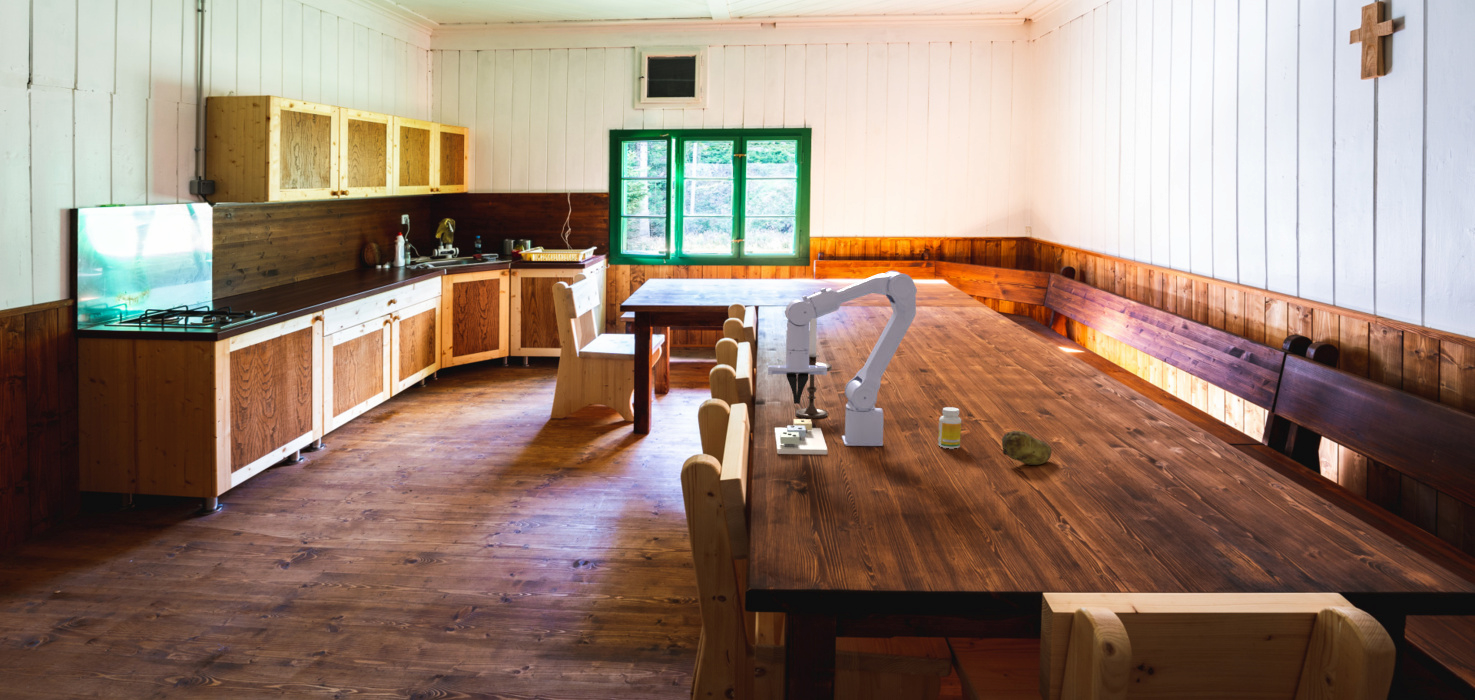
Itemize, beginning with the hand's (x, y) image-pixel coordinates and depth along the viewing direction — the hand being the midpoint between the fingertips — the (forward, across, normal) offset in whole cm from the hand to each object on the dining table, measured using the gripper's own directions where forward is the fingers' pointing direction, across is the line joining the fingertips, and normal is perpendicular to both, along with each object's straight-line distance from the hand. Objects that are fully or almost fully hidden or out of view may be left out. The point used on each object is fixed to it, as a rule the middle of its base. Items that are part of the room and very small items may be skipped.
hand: (796, 402), depth 221 cm
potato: (+11, -53, +15) cm, 56 cm away
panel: (+10, -1, 0) cm, 10 cm away
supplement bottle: (+11, -38, +2) cm, 39 cm away
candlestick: (+11, -6, -30) cm, 32 cm away
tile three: (+8, +2, +7) cm, 11 cm away
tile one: (+8, -2, -7) cm, 11 cm away
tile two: (+8, 0, 0) cm, 8 cm away
